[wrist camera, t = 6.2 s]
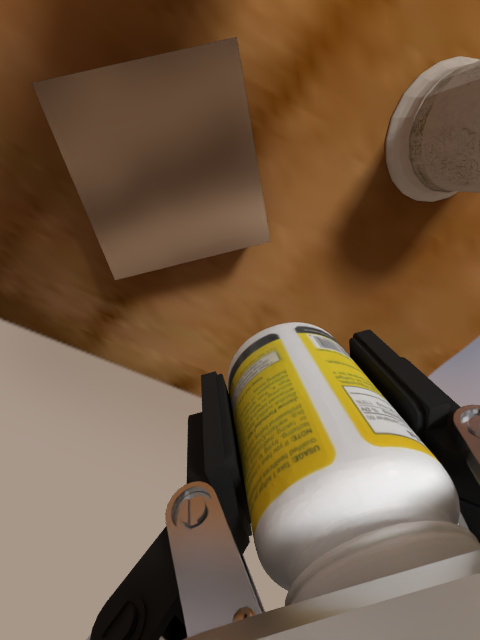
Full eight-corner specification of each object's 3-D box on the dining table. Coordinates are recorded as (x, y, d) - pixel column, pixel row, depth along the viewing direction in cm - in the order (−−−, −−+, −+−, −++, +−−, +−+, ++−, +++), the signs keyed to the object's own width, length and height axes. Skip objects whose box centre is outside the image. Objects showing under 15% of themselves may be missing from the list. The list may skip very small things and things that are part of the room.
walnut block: (67, 104, 20) (31, 83, 15) (227, 68, 20) (236, 36, 16) (129, 262, 25) (115, 280, 20) (256, 230, 25) (270, 241, 21)
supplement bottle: (234, 423, 13) (287, 755, 6) (218, 330, 11) (269, 674, 3) (339, 403, 13) (518, 692, 6) (343, 309, 11) (636, 582, 4)
